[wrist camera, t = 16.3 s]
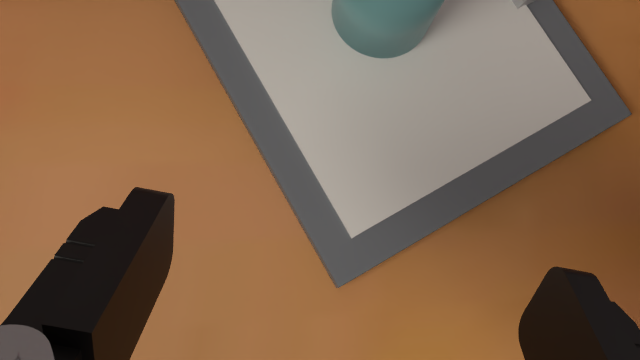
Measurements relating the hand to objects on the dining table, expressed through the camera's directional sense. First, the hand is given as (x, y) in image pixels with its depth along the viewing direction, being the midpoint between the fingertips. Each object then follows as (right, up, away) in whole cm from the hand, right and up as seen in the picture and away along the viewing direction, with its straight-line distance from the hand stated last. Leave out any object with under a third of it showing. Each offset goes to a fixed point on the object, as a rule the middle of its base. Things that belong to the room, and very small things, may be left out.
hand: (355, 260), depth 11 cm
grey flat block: (+2, +9, +14) cm, 17 cm away
